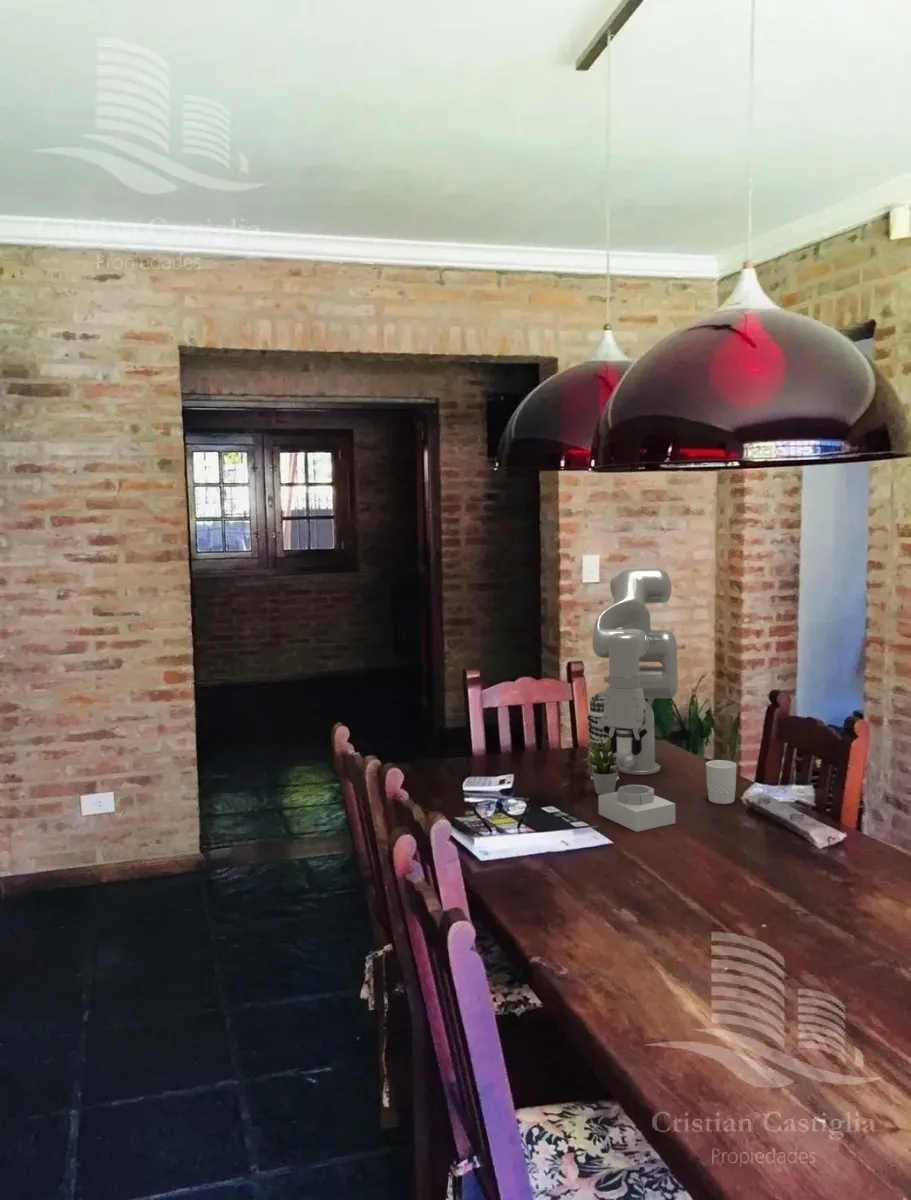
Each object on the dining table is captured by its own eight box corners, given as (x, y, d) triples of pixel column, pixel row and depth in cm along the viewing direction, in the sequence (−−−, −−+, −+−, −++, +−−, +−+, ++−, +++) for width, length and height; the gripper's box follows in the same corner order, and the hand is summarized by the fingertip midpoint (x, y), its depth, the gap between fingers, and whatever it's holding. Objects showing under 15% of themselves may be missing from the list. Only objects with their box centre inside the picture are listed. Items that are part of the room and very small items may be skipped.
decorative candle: (586, 782, 269) (584, 697, 266) (591, 773, 277) (589, 691, 275) (618, 783, 266) (616, 698, 264) (622, 774, 275) (620, 692, 273)
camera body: (598, 814, 240) (598, 785, 239) (636, 806, 245) (635, 778, 244) (636, 831, 225) (635, 801, 225) (675, 823, 231) (674, 793, 230)
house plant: (637, 801, 249) (635, 741, 248) (586, 802, 250) (584, 743, 248) (628, 785, 264) (627, 729, 262) (580, 787, 264) (578, 731, 262)
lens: (612, 762, 235) (611, 727, 235) (628, 759, 238) (627, 724, 237) (623, 767, 231) (623, 731, 230) (640, 764, 233) (639, 728, 232)
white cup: (740, 804, 243) (740, 767, 242) (710, 805, 243) (709, 768, 242) (732, 795, 251) (731, 759, 250) (703, 796, 251) (702, 760, 250)
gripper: (587, 683, 233) (589, 753, 235) (652, 687, 225) (654, 760, 226) (598, 678, 240) (600, 746, 242) (662, 681, 231) (663, 752, 233)
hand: (626, 752), depth 234 cm, fingers closed on lens, 5 cm apart
